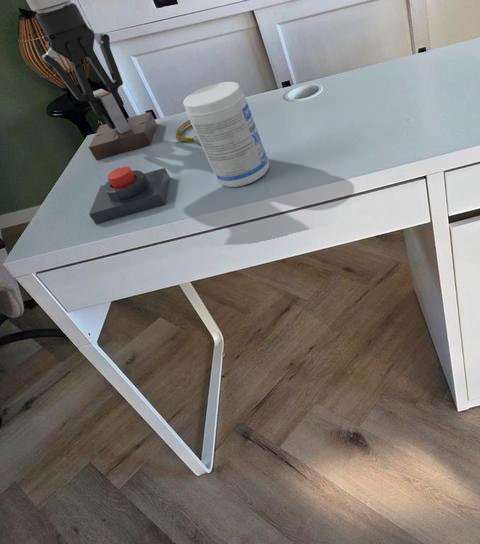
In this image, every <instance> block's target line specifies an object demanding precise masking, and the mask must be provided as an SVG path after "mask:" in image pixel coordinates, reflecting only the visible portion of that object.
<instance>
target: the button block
mask: <svg viewBox="0 0 480 544" xmlns="http://www.w3.org/2000/svg"><path fill="white" fill-rule="evenodd" d="M132 172H133V174H134V176H135V177H136V180H134V181H133V182H132V183H131V184H129V185H127V186H125V187H121V188H113V186H112V185H111V183H110V182H109V180H108V181H107V182H105V184H102V185H100V187H99V189H98V191H97V194H96V195H95V198H94V201H93V204H92V205H91V209H90V211H89V213H88V215H89V217H90V218H91V219H92V221H93V222H94V224H95V225H99V224H102V223H106V222H111V221H113V220H117V219H120V218H124V217H128V216H131V215H134V214H138V213H141V212H145V211H149V210H152V209H156V208H158V207H162V206H165V205H166V202H167V197H168V192H169V186H170V182H171V181H170V180H171V176H170V174H169V173H168V171H167V169H166V167H162V168H159V169H155V170H152V171H147V172H143V171H141V170H132Z"/></svg>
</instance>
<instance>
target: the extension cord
mask: <svg viewBox="0 0 480 544" xmlns="http://www.w3.org/2000/svg"><path fill="white" fill-rule="evenodd" d="M191 127H193V126H192V124H191V122H190V120H187V121H185V122H183V123H182V124H181V125H180V126H179V127H178V128H177V129H176V131H175V139H176V140H177V141H179V142H184V143H193V142H194V143H196V144H199V145H200V146H201V144H200V141H199V139H198V137H197V135H196V136H195V135H194V136H193V137H186V136H181V135H182V134H183V133H184V132H185V131H187V130H188V129H190V128H191Z"/></svg>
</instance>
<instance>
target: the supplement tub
mask: <svg viewBox="0 0 480 544" xmlns="http://www.w3.org/2000/svg"><path fill="white" fill-rule="evenodd" d="M182 104H183V106H184V108H185V112H186V115H187V118H188V119H189V120H190V122H191V124H190V125H192V126H191V127H192V128H193V130H194V133H195V135H196V136H197V137H198V139H199V141H200V144H201V145H200V144H199V145H200V146H201V149H202V150H203V152H204V154H205V157H206V159H207V161H208V163H209V166H210V167H211V170H212V172H213V174H214V177H215V179H216V181H217V182H218V183H219V184H220V185H222V186H224V187H228V188H237V187H243V186H246V185H249V184H251V183H254V182H256V181H258V180H259V179H260V178H261V179H262V177H263V176H265V174H266V173H267V172H268V171H269V167H270V162H269V159H268V155H267V152H266V150H265V147H264V145H263V142H262V140H261V137H260V134H259V132H258V128H257V126H256V122H255V120H254V118H253V115H252V112H251V110H250V106H249V104H248V101H247V99H246V96H245V93H244V92H243V90H242V87H241V85H240V84H239V83H238V82H235V81H223V82H218V83H213V84H209V85H207V86H204V87H201V88H199V89H197V90H195V91H193V92H192V93H190V94H189V95H187V96H186V97H185V98H184V100H183V103H182Z"/></svg>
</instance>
